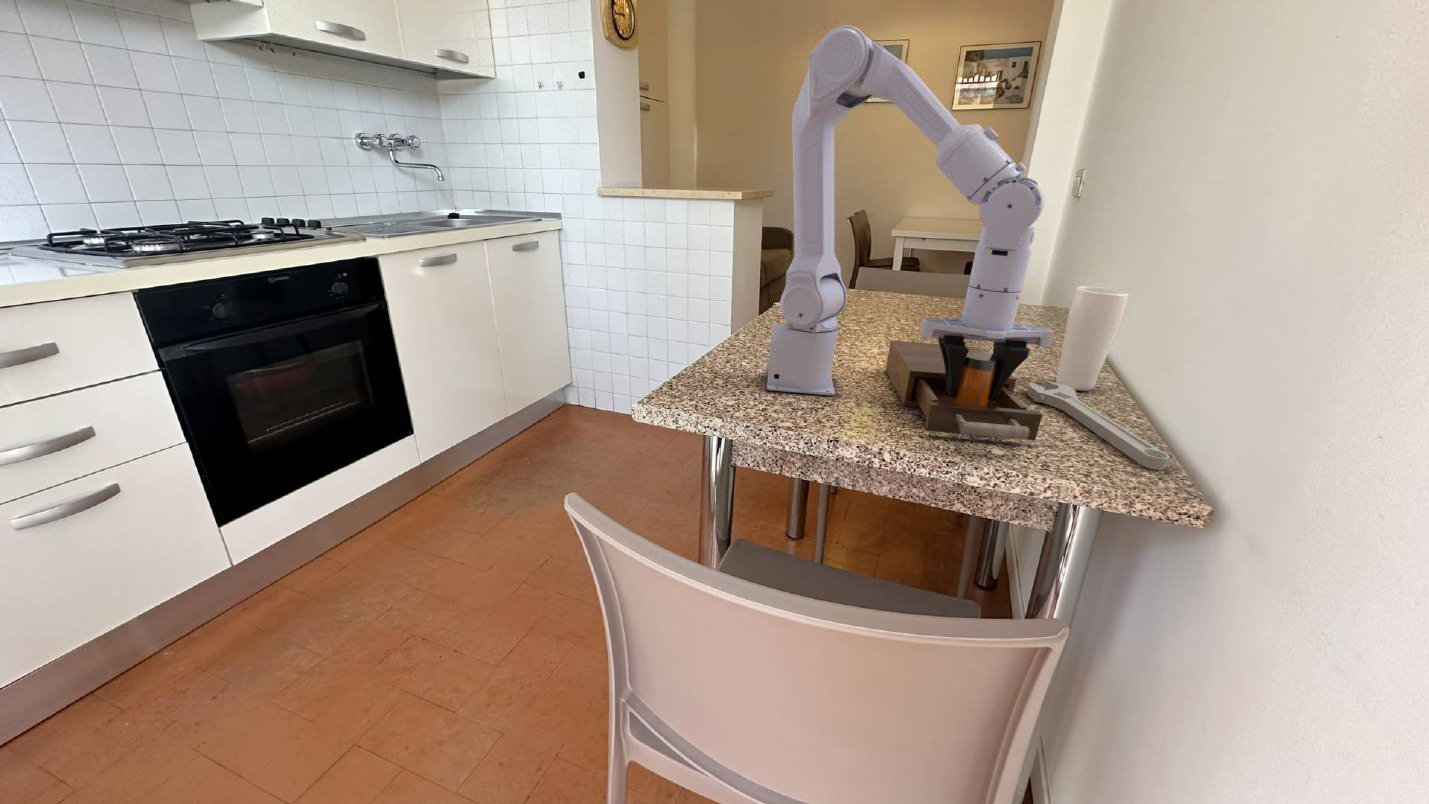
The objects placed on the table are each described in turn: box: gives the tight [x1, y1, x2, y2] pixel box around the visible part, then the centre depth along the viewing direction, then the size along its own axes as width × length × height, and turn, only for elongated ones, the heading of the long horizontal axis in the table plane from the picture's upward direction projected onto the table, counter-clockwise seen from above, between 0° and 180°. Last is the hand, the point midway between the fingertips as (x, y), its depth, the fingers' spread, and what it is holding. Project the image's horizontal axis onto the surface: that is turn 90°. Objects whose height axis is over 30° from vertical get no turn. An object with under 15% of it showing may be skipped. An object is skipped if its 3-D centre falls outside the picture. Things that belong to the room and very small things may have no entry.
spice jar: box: [950, 350, 1000, 407], centre depth 71 cm, size 4×4×7 cm
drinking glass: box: [1055, 285, 1130, 392], centre depth 86 cm, size 7×7×15 cm
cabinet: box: [885, 340, 1018, 408], centre depth 83 cm, size 16×14×5 cm
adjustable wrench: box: [1026, 380, 1170, 471], centre depth 74 cm, size 25×6×2 cm, turn 176°
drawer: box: [912, 377, 1043, 441], centre depth 71 cm, size 18×12×3 cm
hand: (969, 396), depth 72 cm, fingers closed on spice jar, 4 cm apart
